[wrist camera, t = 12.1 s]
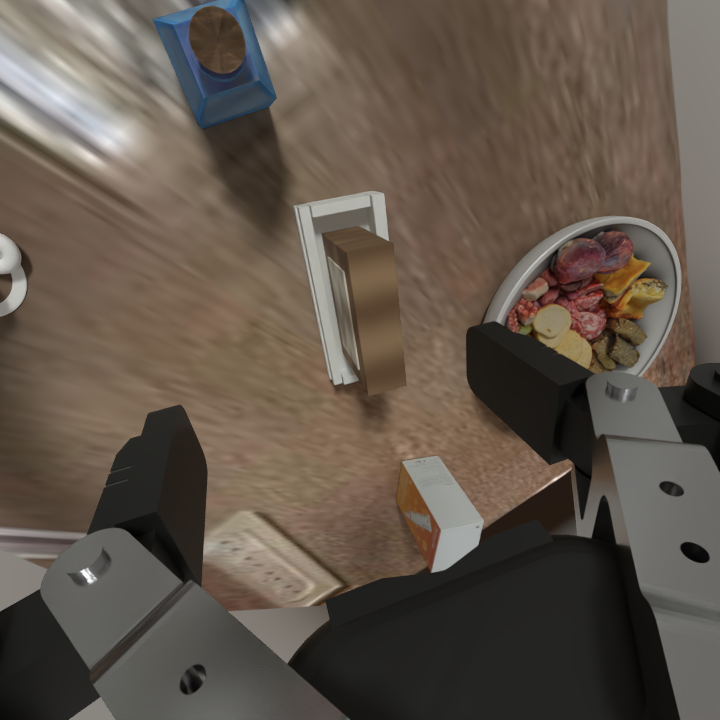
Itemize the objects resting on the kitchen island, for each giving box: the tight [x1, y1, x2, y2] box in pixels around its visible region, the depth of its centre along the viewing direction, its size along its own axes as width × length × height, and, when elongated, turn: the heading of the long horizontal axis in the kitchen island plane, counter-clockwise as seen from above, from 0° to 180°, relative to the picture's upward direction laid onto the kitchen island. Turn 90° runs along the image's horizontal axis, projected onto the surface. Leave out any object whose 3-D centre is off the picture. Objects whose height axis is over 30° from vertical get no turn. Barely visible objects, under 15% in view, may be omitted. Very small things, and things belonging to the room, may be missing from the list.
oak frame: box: [321, 226, 407, 396], centre depth 40 cm, size 14×4×10 cm, turn 8°
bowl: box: [483, 216, 681, 377], centre depth 54 cm, size 30×30×8 cm
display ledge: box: [293, 191, 389, 385], centre depth 44 cm, size 8×20×4 cm, turn 8°
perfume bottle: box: [153, 0, 277, 129], centre depth 28 cm, size 6×6×12 cm
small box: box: [396, 456, 484, 573], centre depth 56 cm, size 8×6×13 cm
